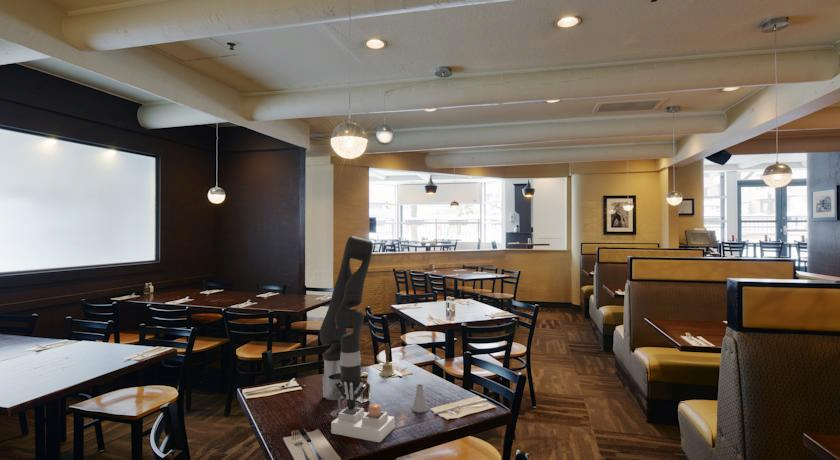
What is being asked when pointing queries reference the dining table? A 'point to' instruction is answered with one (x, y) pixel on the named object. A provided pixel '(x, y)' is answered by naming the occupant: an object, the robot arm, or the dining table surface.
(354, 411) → the charcoal button
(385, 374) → the hand bell
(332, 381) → the wine glass
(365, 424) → the console
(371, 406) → the terracotta button
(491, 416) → the dining table surface
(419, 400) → the flask
